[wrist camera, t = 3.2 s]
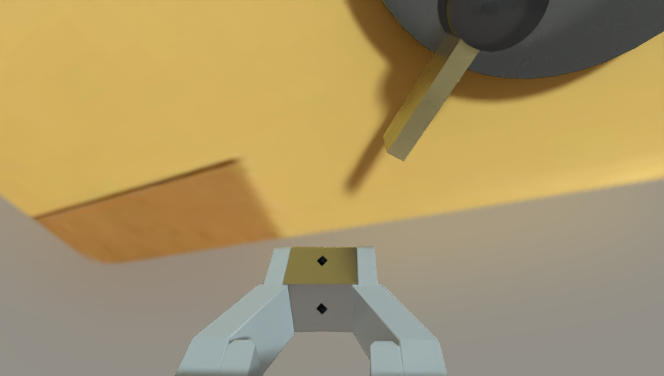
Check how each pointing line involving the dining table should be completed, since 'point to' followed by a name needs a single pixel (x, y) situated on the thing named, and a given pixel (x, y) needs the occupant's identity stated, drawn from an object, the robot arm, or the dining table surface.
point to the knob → (459, 58)
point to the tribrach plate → (549, 35)
